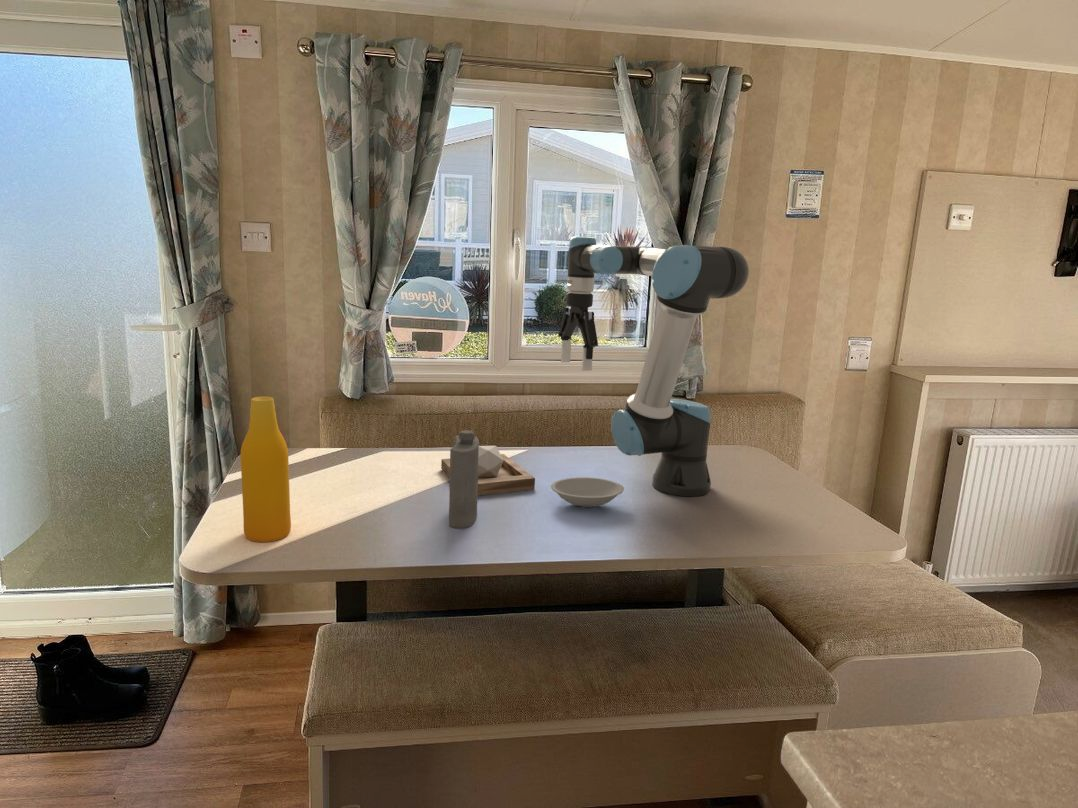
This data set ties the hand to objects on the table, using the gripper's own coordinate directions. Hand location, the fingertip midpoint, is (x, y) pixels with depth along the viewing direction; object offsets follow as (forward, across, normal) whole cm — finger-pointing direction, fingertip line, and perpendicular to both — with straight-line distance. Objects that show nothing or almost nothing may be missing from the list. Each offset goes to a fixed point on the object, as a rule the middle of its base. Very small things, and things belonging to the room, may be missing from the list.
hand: (575, 366), depth 215 cm
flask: (+27, +37, -46) cm, 65 cm away
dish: (+27, +40, -16) cm, 51 cm away
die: (+26, +14, -32) cm, 43 cm away
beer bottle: (+27, +34, -88) cm, 98 cm away
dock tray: (+27, +14, -32) cm, 44 cm away
